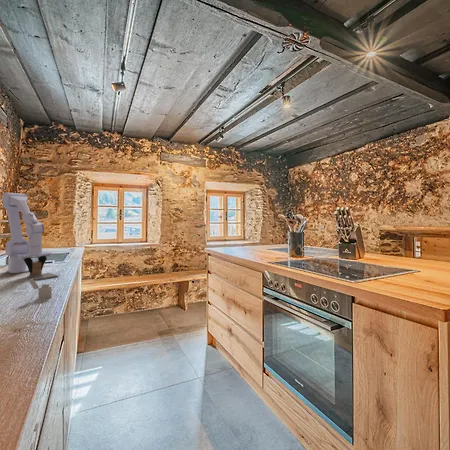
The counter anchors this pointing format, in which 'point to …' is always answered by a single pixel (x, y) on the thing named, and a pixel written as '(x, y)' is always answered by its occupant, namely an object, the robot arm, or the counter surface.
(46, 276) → the slate tile
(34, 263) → the walnut block
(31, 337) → the counter surface
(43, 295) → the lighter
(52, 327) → the counter surface
